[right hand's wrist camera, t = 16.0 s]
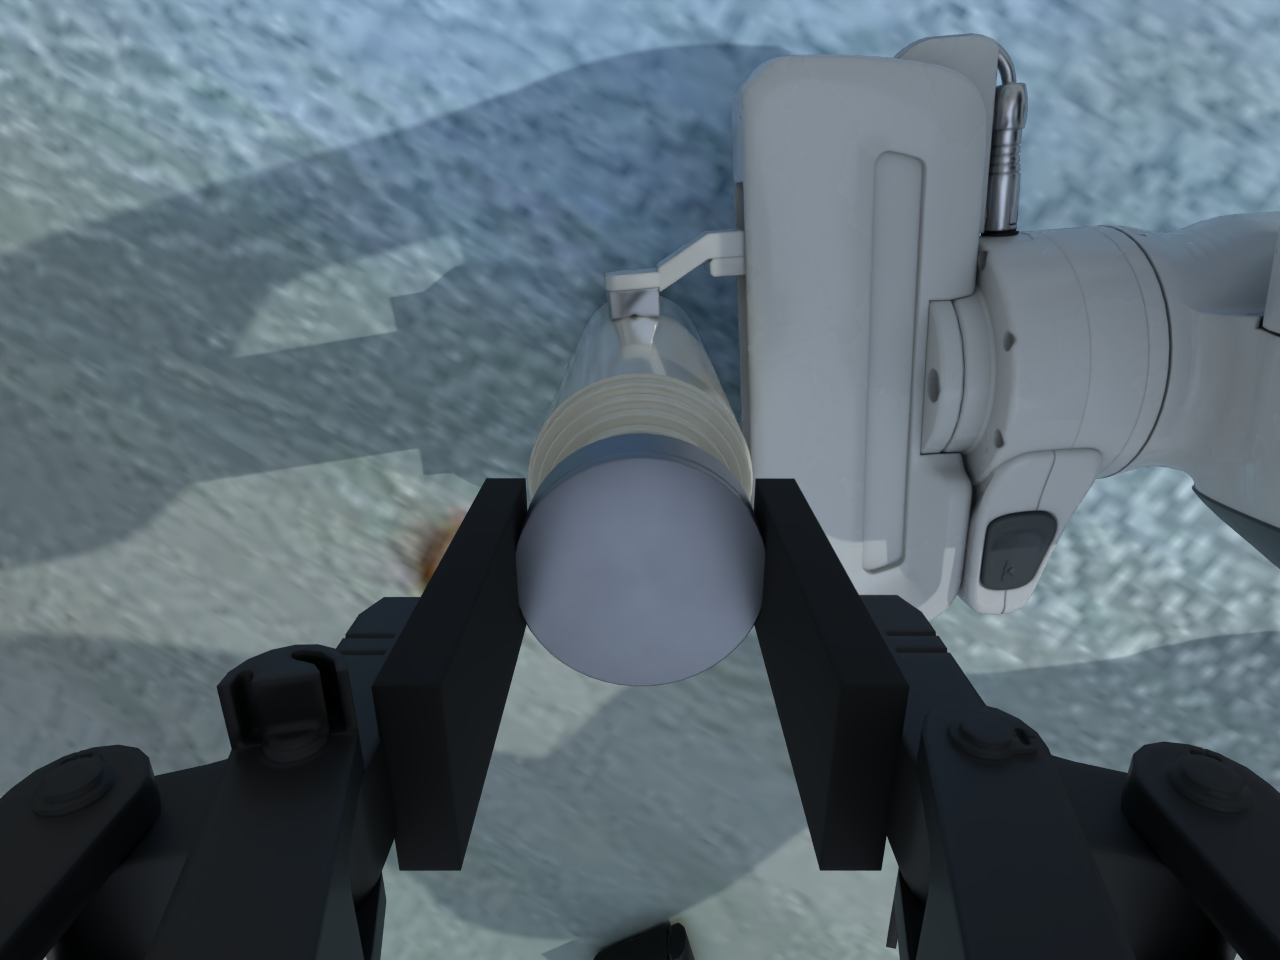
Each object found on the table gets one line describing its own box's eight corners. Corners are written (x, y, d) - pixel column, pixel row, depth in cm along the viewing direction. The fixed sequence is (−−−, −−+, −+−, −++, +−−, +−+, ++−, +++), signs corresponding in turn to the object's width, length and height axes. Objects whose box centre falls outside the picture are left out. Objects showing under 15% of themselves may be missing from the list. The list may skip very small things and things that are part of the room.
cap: (507, 442, 14) (492, 469, 12) (752, 421, 14) (765, 446, 12) (541, 651, 16) (531, 695, 14) (760, 633, 15) (772, 677, 14)
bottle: (699, 288, 32) (789, 419, 13) (702, 409, 34) (784, 682, 15) (574, 295, 32) (476, 435, 13) (584, 416, 34) (512, 694, 15)
